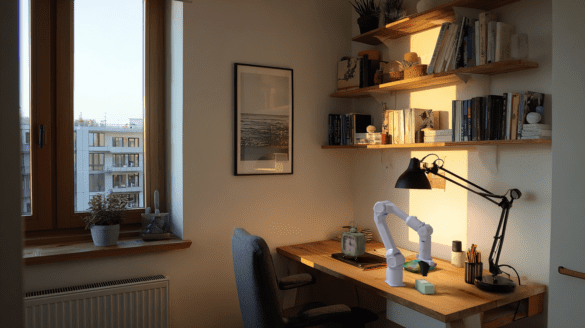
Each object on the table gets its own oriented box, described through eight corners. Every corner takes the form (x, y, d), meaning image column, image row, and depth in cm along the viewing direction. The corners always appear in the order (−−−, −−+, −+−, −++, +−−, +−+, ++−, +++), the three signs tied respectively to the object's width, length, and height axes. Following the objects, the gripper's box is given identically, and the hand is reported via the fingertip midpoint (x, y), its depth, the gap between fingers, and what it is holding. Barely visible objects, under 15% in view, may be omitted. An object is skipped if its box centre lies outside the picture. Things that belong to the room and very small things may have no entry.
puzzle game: (436, 261, 247) (415, 266, 235) (436, 269, 247) (414, 275, 236) (420, 257, 256) (398, 262, 245) (420, 265, 257) (398, 270, 245)
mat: (412, 287, 212) (412, 287, 212) (425, 287, 213) (425, 286, 213) (422, 294, 202) (422, 293, 202) (435, 293, 203) (435, 293, 203)
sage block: (424, 294, 202) (415, 287, 212) (434, 293, 203) (424, 286, 213) (424, 285, 202) (415, 279, 212) (434, 284, 203) (424, 278, 212)
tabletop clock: (340, 258, 270) (341, 220, 270) (350, 256, 276) (351, 218, 275) (356, 263, 259) (357, 223, 258) (366, 261, 264) (367, 221, 263)
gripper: (440, 252, 200) (439, 280, 201) (425, 245, 215) (424, 271, 215) (426, 252, 199) (425, 280, 200) (412, 246, 213) (412, 272, 214)
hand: (424, 276), depth 207 cm, fingers closed
